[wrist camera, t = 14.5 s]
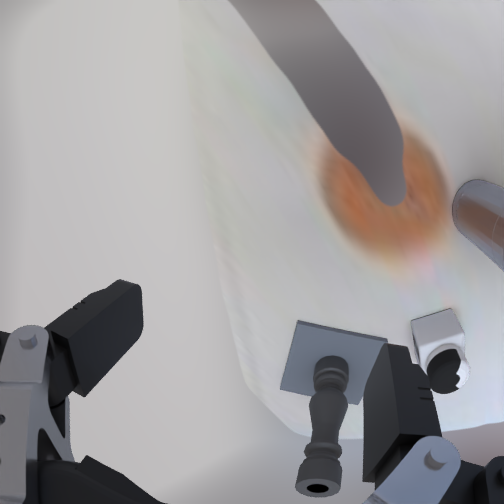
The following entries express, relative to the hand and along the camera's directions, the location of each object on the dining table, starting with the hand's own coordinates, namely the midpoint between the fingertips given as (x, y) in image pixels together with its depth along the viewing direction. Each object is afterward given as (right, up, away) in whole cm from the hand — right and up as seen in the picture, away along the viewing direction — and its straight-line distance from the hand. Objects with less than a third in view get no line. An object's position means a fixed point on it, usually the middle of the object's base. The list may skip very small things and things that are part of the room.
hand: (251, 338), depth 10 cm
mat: (+14, -18, +45) cm, 50 cm away
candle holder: (+14, -18, +44) cm, 49 cm away
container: (+31, -11, +38) cm, 50 cm away
